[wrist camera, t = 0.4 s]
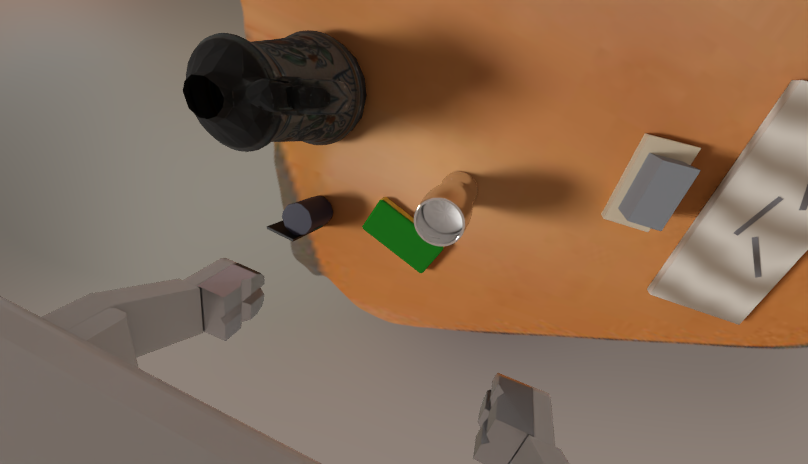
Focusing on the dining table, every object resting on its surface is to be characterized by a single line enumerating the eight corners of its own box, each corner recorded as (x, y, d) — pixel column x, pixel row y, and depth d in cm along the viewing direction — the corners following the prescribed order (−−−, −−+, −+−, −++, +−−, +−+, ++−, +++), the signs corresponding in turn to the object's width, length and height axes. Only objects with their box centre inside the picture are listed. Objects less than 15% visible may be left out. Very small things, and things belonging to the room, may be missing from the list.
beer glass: (489, 183, 53) (477, 216, 40) (465, 217, 56) (447, 258, 43) (452, 160, 53) (428, 185, 40) (430, 195, 57) (402, 228, 44)
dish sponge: (385, 195, 60) (380, 199, 58) (446, 242, 60) (444, 248, 58) (366, 222, 63) (361, 227, 61) (424, 268, 63) (421, 274, 61)
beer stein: (264, 66, 57) (105, 56, 35) (353, -2, 49) (217, -69, 27) (311, 156, 61) (194, 197, 39) (402, 108, 53) (316, 126, 31)
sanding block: (644, 132, 44) (663, 140, 38) (694, 145, 43) (721, 155, 37) (600, 213, 50) (611, 232, 44) (643, 226, 49) (660, 247, 43)
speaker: (319, 235, 67) (288, 252, 58) (299, 214, 67) (264, 229, 58) (341, 209, 64) (312, 223, 55) (319, 188, 64) (286, 198, 55)
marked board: (792, 80, 38) (802, 80, 36) (920, 107, 36) (937, 108, 34) (646, 289, 52) (650, 294, 50) (733, 318, 49) (739, 325, 48)
